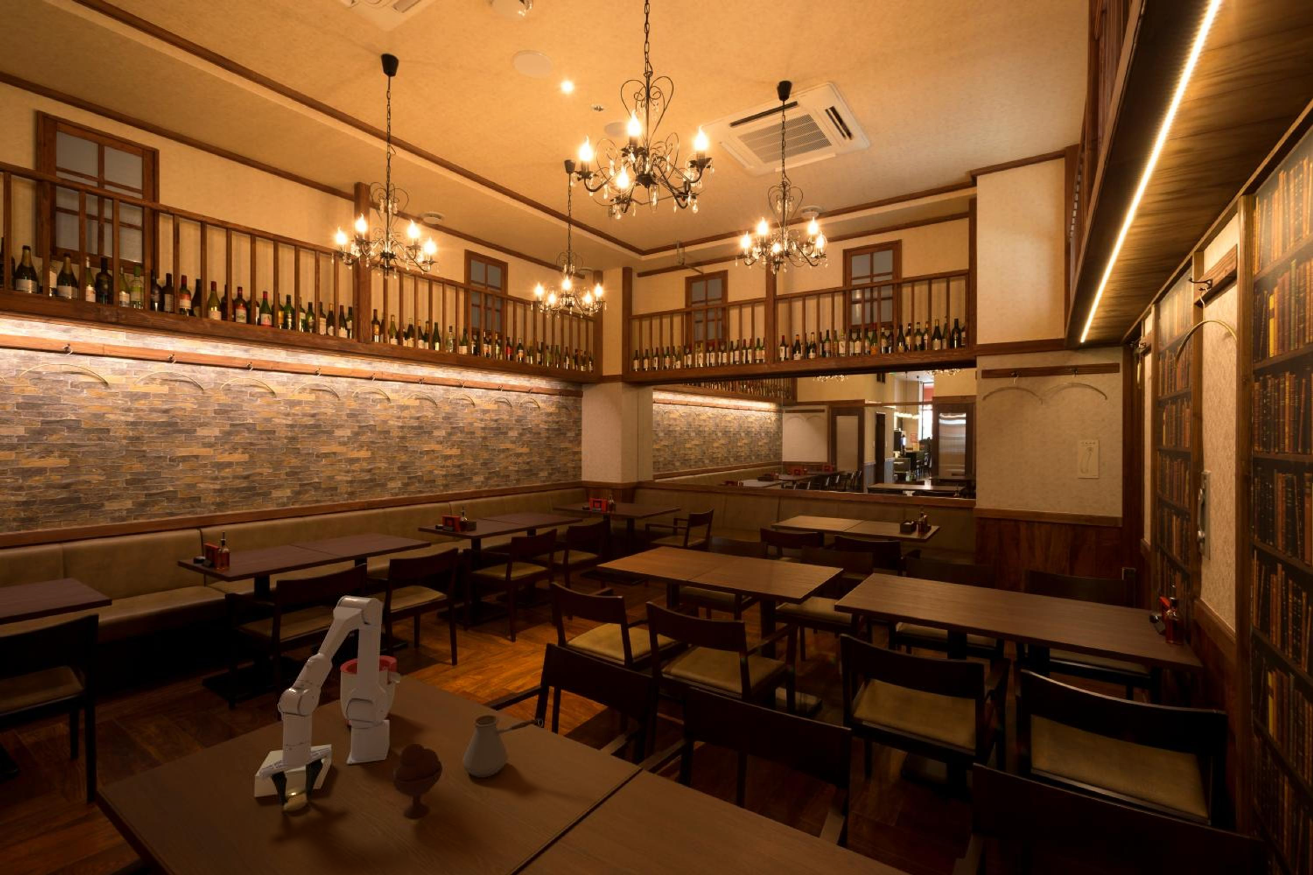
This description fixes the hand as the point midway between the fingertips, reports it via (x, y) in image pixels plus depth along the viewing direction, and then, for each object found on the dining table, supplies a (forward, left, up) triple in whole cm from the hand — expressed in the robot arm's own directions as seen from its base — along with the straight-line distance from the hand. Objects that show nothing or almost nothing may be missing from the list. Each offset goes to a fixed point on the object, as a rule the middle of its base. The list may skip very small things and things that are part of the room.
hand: (295, 798), depth 140 cm
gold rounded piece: (0, 0, -2) cm, 2 cm away
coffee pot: (-47, -2, -2) cm, 47 cm away
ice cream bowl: (-27, +10, -2) cm, 29 cm away
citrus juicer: (-10, -43, -2) cm, 44 cm away
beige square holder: (+3, -12, -1) cm, 12 cm away
